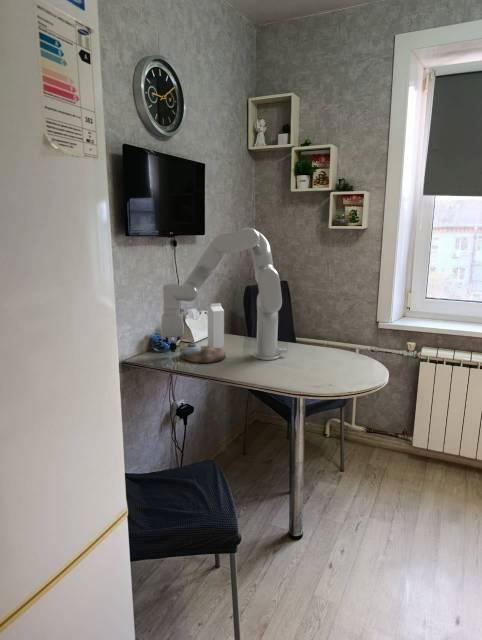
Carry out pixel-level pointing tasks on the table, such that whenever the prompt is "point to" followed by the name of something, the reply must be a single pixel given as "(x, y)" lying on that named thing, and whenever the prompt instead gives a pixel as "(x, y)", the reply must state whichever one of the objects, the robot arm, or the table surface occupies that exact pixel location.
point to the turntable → (206, 355)
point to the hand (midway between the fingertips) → (173, 351)
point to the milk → (216, 326)
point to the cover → (191, 349)
